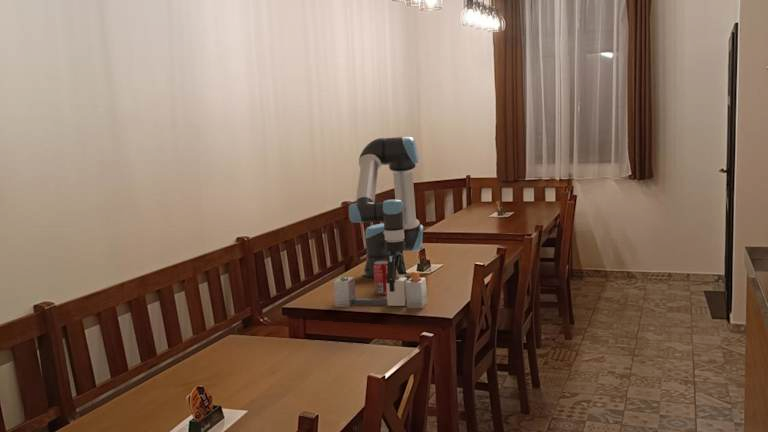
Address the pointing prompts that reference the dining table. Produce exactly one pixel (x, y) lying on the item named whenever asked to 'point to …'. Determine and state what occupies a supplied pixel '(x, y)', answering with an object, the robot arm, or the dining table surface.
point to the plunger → (415, 276)
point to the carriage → (398, 292)
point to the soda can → (380, 276)
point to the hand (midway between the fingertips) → (397, 295)
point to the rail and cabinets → (347, 297)
